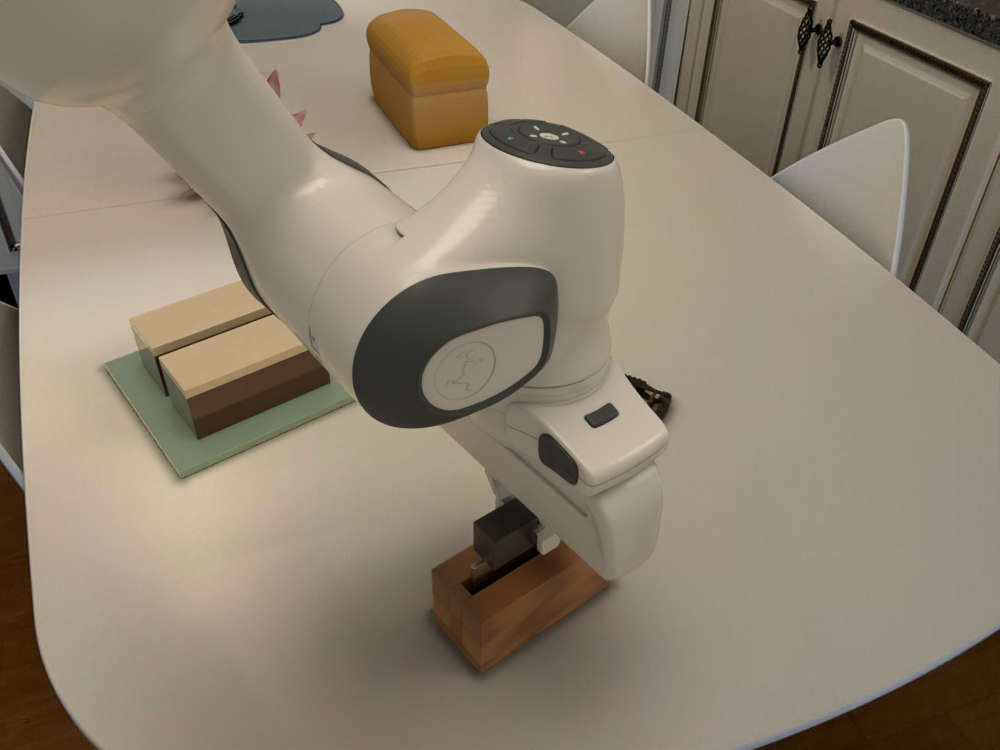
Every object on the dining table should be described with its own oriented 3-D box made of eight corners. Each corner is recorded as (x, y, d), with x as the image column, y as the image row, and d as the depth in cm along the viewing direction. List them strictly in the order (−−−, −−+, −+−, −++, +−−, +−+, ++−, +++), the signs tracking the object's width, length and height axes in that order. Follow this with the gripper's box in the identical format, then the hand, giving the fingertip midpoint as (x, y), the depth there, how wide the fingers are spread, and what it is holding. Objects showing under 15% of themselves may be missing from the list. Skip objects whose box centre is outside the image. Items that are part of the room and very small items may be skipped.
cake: (181, 478, 77) (164, 422, 72) (106, 368, 89) (87, 315, 85) (372, 392, 87) (366, 338, 82) (281, 304, 99) (272, 253, 94)
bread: (369, 96, 149) (362, 6, 140) (439, 87, 153) (436, -1, 144) (413, 151, 132) (408, 53, 123) (490, 139, 136) (491, 43, 127)
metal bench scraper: (482, 638, 63) (482, 550, 57) (462, 616, 65) (461, 528, 58) (581, 572, 68) (592, 484, 62) (561, 553, 70) (570, 465, 63)
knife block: (480, 674, 62) (480, 625, 58) (433, 618, 66) (430, 569, 62) (609, 585, 68) (617, 535, 65) (560, 539, 72) (565, 489, 68)
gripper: (400, 320, 58) (410, 466, 66) (612, 497, 45) (590, 648, 54) (475, 289, 61) (475, 433, 69) (692, 447, 48) (659, 598, 57)
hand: (527, 528), depth 62 cm, fingers closed on metal bench scraper, 2 cm apart
